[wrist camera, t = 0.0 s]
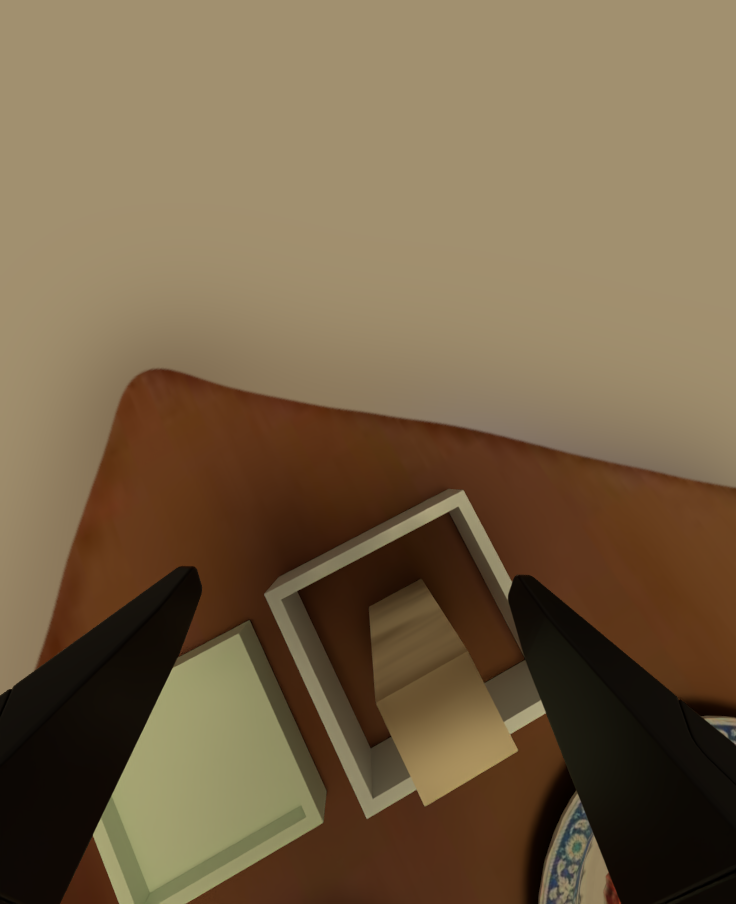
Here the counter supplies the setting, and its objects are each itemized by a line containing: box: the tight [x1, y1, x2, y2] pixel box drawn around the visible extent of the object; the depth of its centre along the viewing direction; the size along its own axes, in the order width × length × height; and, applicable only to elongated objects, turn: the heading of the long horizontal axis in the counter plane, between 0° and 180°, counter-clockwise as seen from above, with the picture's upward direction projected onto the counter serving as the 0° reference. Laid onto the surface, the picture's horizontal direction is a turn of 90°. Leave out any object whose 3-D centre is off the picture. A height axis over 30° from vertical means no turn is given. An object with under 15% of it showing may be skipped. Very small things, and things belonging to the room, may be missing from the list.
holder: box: [264, 489, 546, 819], centre depth 21 cm, size 15×15×4 cm
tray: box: [93, 620, 327, 904], centre depth 21 cm, size 13×13×2 cm
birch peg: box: [369, 579, 518, 806], centre depth 18 cm, size 4×4×10 cm
